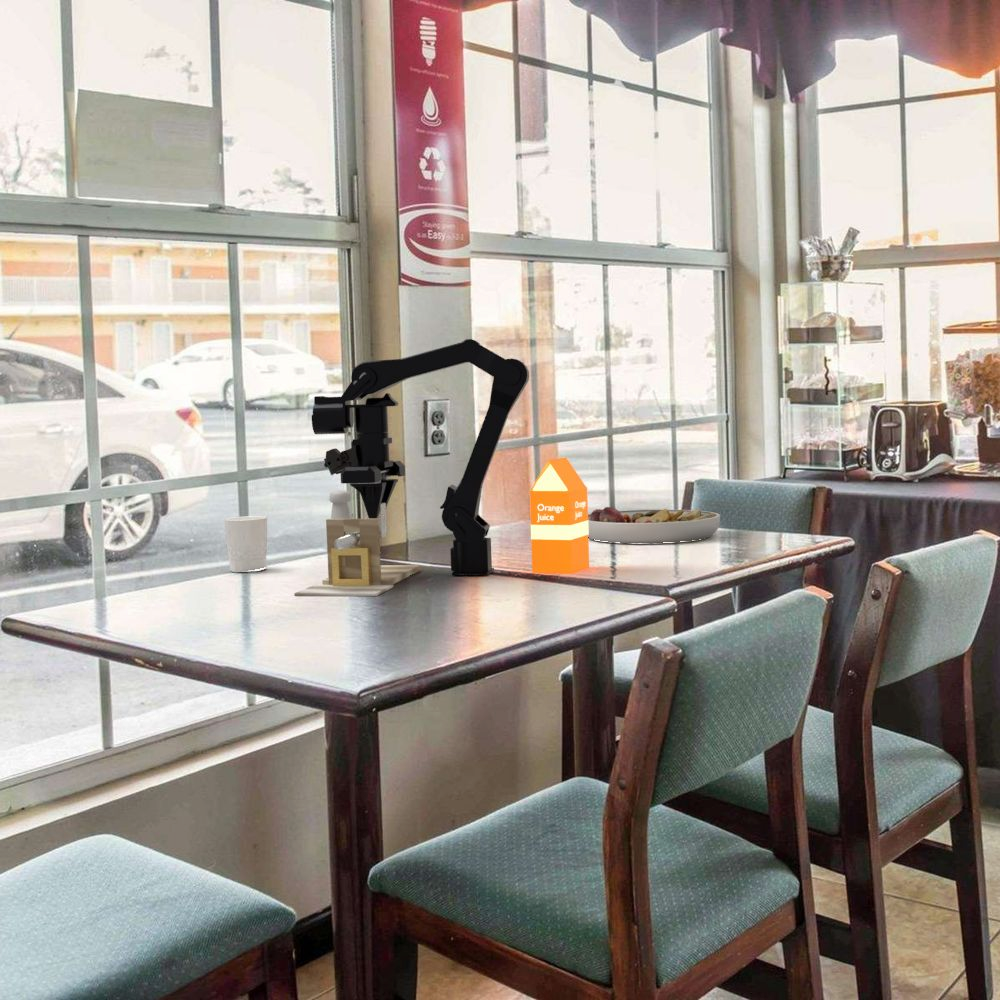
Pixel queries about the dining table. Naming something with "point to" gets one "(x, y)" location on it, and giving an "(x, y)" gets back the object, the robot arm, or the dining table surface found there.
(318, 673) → the dining table surface
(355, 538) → the shaft
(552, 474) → the orange juice
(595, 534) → the bowl
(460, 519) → the robot arm
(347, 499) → the salt shaker
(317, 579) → the dining table surface
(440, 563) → the dining table surface
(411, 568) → the wooden latch stand
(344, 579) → the frame
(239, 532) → the white cup
